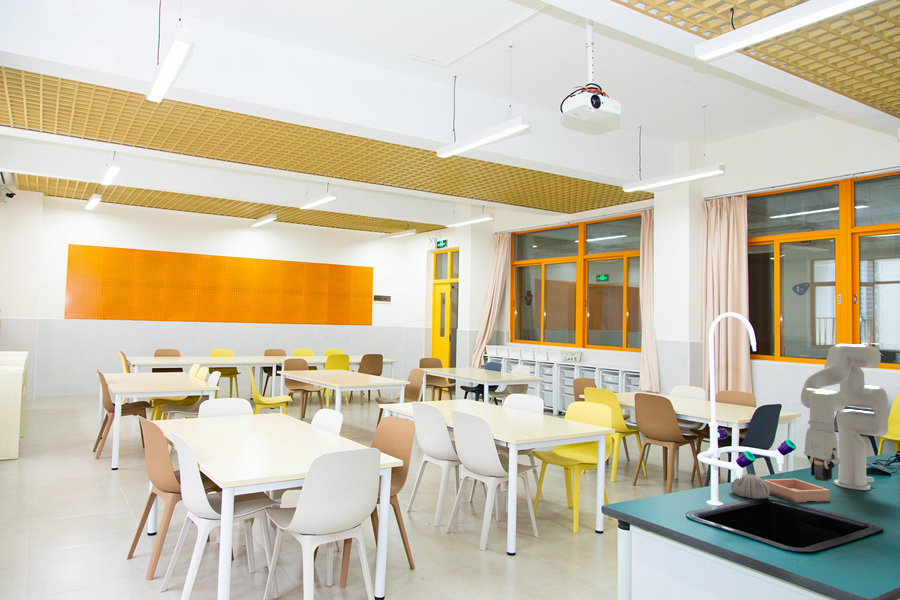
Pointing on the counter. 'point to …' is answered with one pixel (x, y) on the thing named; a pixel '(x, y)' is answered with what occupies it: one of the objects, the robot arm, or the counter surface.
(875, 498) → the counter surface
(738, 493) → the sea urchin shell
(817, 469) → the battery cell
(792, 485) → the tray
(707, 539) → the counter surface
